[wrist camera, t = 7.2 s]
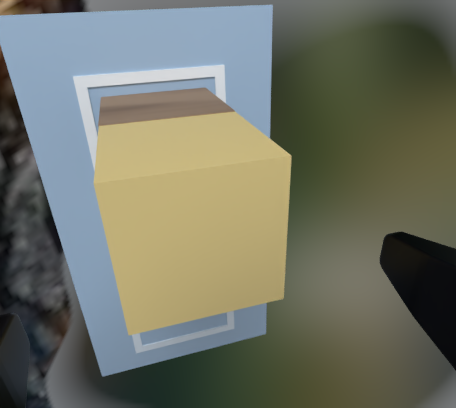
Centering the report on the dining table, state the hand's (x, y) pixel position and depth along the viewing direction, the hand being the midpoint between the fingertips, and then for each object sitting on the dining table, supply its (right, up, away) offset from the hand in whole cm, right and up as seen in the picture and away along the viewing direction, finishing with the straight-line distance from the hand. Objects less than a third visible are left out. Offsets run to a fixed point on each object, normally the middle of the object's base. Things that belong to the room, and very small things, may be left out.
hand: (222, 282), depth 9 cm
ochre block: (-2, +3, +6) cm, 7 cm away
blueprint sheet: (-3, +1, +13) cm, 13 cm away
